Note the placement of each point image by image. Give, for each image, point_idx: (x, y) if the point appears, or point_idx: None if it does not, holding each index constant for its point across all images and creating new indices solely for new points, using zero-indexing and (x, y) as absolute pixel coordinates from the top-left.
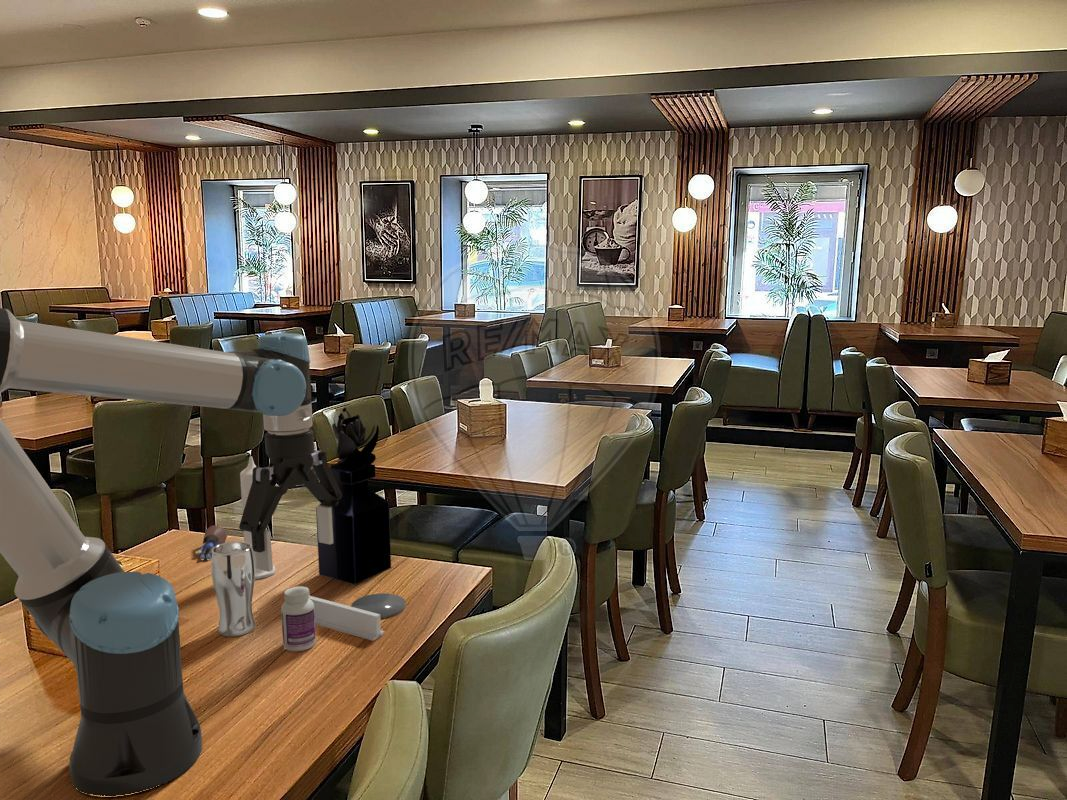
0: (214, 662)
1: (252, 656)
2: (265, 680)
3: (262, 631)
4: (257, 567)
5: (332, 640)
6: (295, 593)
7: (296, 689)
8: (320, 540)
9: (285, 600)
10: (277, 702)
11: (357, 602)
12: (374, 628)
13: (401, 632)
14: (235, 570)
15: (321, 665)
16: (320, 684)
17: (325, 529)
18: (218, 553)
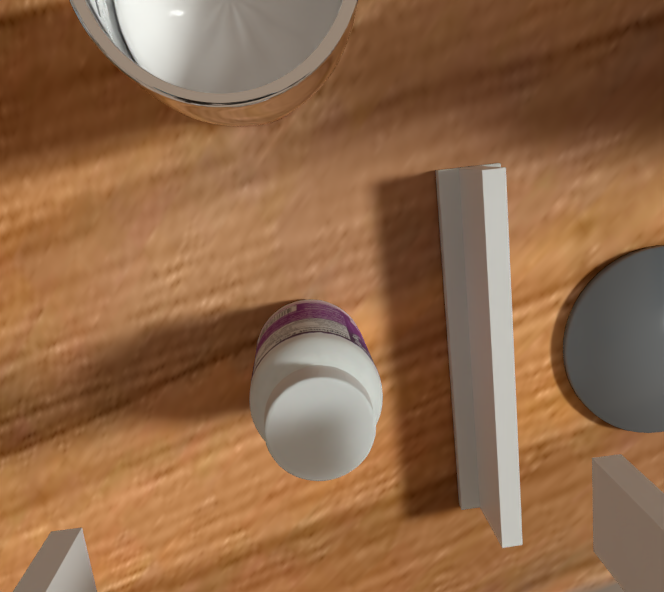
0: (56, 222)
1: (164, 289)
2: (104, 447)
3: (297, 155)
4: (48, 542)
5: (392, 404)
6: (297, 450)
7: (134, 551)
8: (599, 481)
9: (266, 405)
10: None
11: (638, 270)
12: (486, 511)
13: (547, 525)
14: (170, 107)
15: (264, 500)
16: (193, 577)
17: (648, 586)
18: None
